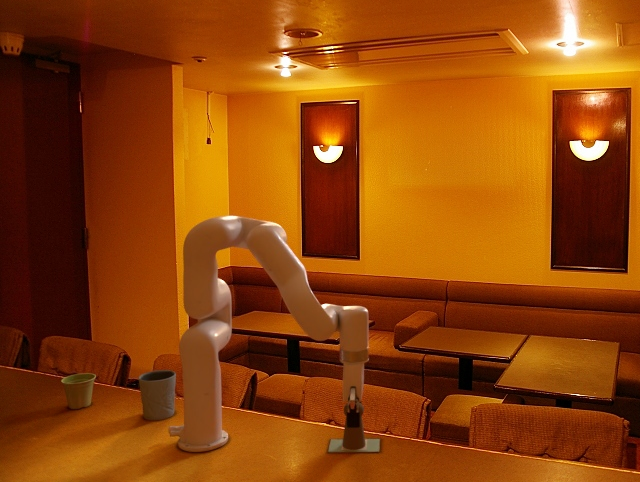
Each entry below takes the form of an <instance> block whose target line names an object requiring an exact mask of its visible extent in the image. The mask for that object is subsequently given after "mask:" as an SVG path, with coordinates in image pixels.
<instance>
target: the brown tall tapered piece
mask: <svg viewBox="0 0 640 482" xmlns="http://www.w3.org/2000/svg"><path fill="white" fill-rule="evenodd" d="M355 404H356V405H357V403H355ZM364 407H365V406H364V405H363V403H362V402H361V403H359V411H360V427H359V428H348V427H347V411H348V402H346V403H345V405H344V407H343V414H344V416H345V421H344V427H343V428H344V429H343V438H342V439H343V444H342V446H343V447H344V448H346V449H349V450H357V449H361V448H363V447H365V445H366V443H365V439H366V437H365V430H364V429H365V428H364V423H363V422H364V421H363V415H364V412H365V408H364Z"/></svg>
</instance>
